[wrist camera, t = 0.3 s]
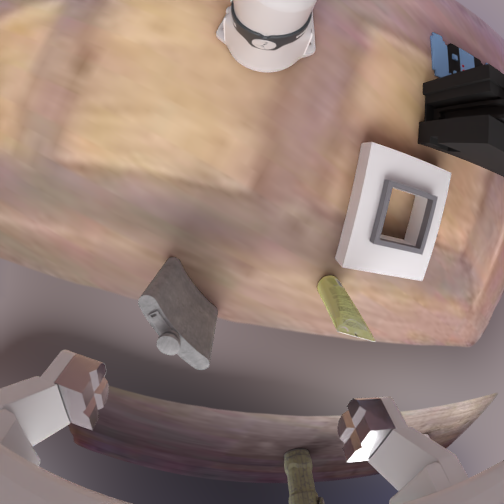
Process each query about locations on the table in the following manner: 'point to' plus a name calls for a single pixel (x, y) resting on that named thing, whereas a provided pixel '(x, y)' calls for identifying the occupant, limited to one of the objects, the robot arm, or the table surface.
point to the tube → (342, 309)
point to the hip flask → (180, 315)
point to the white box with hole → (375, 208)
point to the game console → (464, 107)
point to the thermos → (300, 477)
